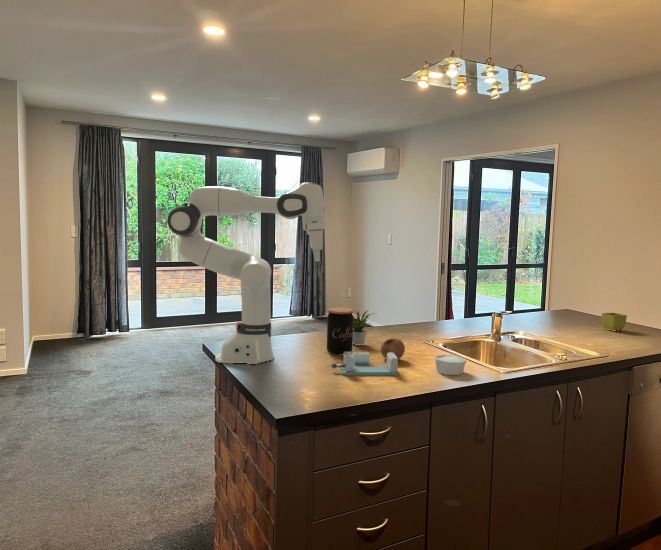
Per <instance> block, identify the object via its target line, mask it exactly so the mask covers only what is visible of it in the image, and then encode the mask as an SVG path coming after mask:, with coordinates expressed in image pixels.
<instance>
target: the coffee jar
mask: <svg viewBox="0 0 661 550" xmlns="http://www.w3.org/2000/svg"><path fill="white" fill-rule="evenodd" d="M327 313H328V314H327V317H326V318H327V319H326V320H327V323H326V324H327V327H326V351H327V352H328V353H329V352H330V354H331V353H333V354H332V355H335V354H344V352H351V353H352V352H353V345H352V340H353V329H354V328H353V317H354V314H353V313H354V308H350V307H345V306H344V307H341V306H340V307H339V306H337V307H336V306H335V307H329V308H327Z"/></svg>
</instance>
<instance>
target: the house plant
mask: <svg viewBox="0 0 661 550" xmlns="http://www.w3.org/2000/svg"><path fill="white" fill-rule="evenodd" d="M354 312H355V313H356V319H355V317H354V316H353V340H352V343H353V344H358V345H359V344H360V345H361V344H364V345H365V341H366V335H367V330H366V329H364V328H367V327H368V328H369V327H371V326H370V325H372V323H367V321H368V318H369V317H371V315H374V314H376V313H375V312H374V313H373V312H372V313H368V312H370V310H369V309H367V310H365V311H364V312H363V314H362V316H360V310H354ZM367 313H368V314H367Z"/></svg>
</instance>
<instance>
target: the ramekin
mask: <svg viewBox="0 0 661 550" xmlns="http://www.w3.org/2000/svg"><path fill="white" fill-rule="evenodd" d="M434 362H435V369H436V371H437V373H439V374H441V375H443V374H444V376H449V375H458V376H461V375H462V374H463V373H464V371H465V365H466V363H467V360H466V358H464V357H462V356H459V355H455V354H440V355H439V354H438V355H436V356H435V357H434ZM460 374H461V375H460Z"/></svg>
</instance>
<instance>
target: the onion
mask: <svg viewBox="0 0 661 550" xmlns="http://www.w3.org/2000/svg"><path fill="white" fill-rule="evenodd" d="M405 349H406V347H405V344H404V342H403V341H402V340H401V339H399V338H396V337H392V338H388V339H386V340H385V341H383V342H382V344H381V346H380V352H381V355H382V357H383V358H384V359H385V360H387V354H388V353H394V354H395V355H396V357H397V358H398V360H399V359H401V358H402V357H403V355H405V351H406V350H405Z"/></svg>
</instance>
